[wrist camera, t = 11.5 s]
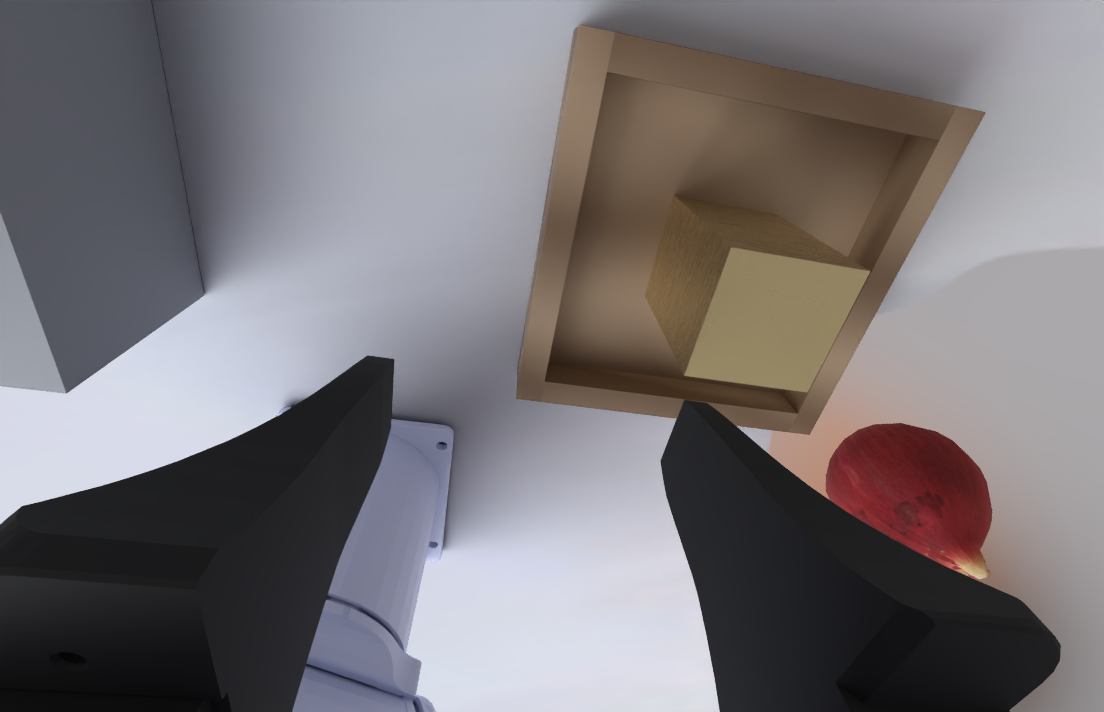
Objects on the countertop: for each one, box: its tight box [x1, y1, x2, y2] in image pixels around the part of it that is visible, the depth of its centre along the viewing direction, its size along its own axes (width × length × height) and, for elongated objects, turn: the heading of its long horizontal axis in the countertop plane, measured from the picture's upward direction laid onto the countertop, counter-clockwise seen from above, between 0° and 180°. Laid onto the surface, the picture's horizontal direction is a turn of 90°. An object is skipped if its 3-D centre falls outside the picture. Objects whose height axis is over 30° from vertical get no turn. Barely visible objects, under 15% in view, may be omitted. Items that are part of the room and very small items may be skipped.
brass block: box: [645, 195, 870, 392], centre depth 17 cm, size 4×4×6 cm
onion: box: [826, 423, 992, 579], centre depth 22 cm, size 6×6×8 cm
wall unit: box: [0, 0, 204, 393], centre depth 14 cm, size 14×3×7 cm, turn 170°
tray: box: [516, 25, 985, 435], centre depth 19 cm, size 13×13×2 cm
